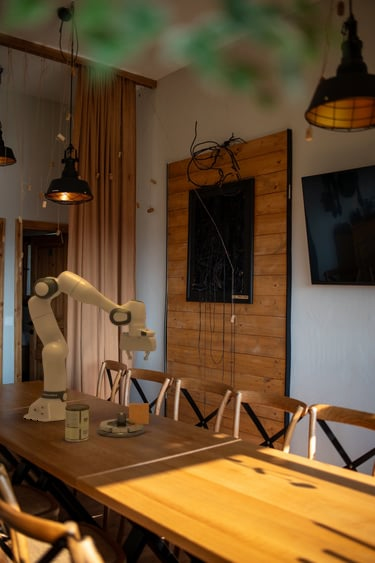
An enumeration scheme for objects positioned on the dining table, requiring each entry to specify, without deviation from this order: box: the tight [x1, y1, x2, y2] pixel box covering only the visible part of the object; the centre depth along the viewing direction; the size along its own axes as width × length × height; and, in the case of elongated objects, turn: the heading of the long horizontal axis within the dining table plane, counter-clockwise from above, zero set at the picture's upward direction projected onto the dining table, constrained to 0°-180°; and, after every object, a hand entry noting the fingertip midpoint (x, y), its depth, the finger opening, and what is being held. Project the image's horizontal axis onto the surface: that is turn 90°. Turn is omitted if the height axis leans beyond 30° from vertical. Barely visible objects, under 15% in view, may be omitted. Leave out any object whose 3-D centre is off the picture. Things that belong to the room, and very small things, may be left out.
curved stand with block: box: [99, 402, 150, 433], centre depth 248 cm, size 22×19×11 cm
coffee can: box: [64, 403, 90, 443], centre depth 235 cm, size 10×10×14 cm
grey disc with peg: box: [96, 411, 146, 439], centre depth 248 cm, size 22×22×8 cm
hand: (137, 359), depth 270 cm, fingers open, 8 cm apart
